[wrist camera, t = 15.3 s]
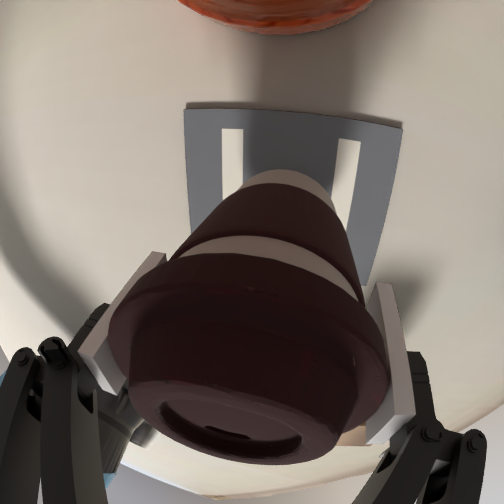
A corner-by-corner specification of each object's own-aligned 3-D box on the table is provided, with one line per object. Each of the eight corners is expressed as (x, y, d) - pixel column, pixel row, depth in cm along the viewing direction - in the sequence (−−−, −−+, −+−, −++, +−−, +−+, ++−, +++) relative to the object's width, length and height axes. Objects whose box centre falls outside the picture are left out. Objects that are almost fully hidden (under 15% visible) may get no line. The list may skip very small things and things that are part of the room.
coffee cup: (285, 115, 16) (183, 247, 4) (382, 227, 19) (435, 445, 7) (187, 211, 21) (61, 380, 9) (280, 294, 24) (239, 478, 12)
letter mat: (195, 260, 28) (194, 263, 27) (185, 109, 20) (183, 109, 20) (365, 283, 25) (366, 285, 25) (401, 128, 18) (403, 129, 17)
